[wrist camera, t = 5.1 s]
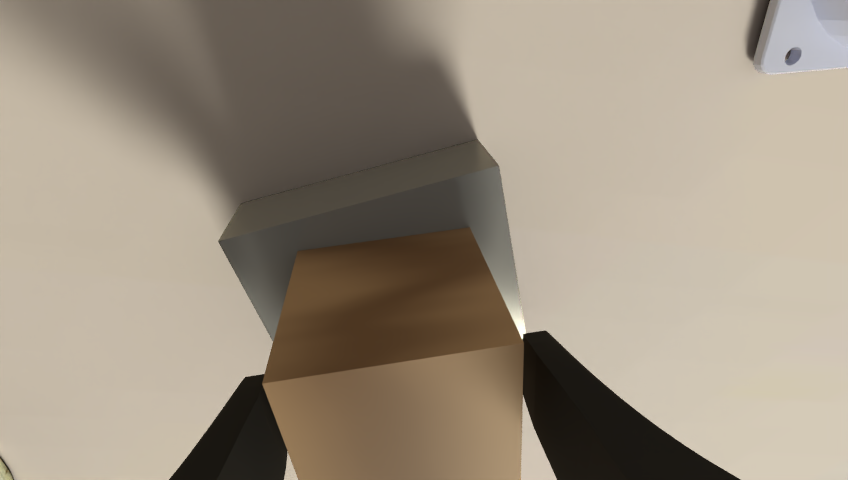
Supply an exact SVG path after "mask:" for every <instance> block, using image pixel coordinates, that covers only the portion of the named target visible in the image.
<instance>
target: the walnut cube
mask: <svg viewBox="0 0 848 480" xmlns="http://www.w3.org/2000/svg"><path fill="white" fill-rule="evenodd" d="M523 361H524V342H523V340H522V338H521V336H520V334H519V331H518V329H517V327H516V325H515V323H514V321H513V319H512V316H511V314H510V312H509V310H508V308H507V306H506V304H505V301H504V299H503V297H502V295H501V293H500V291H499V289H498V287H497V284H496V282H495V280H494V278H493V276H492V274H491V272H490V269H489V267H488V265H487V263H486V261H485V259H484V257H483V254H482V252H481V250H480V248H479V246H478V244H477V242H476V239H475V237H474V235H473V233H472V231H471V229H470V227H468V228H461V229H454V230H446V231H439V232H432V233H425V234H417V235H410V236H403V237H396V238H388V239H381V240H374V241H367V242H359V243H352V244H345V245H338V246H330V247H323V248H316V249H309V250H301V251H298V252H297V255H296V259H295V263H294V267H293V270H292V274H291V278H290V281H289V285H288V289H287V293H286V296H285V300H284V304H283V308H282V311H281V315H280V319H279V323H278V326H277V330H276V334H275V337H274V341H273V345H272V349H271V352H270V356H269V360H268V364H267V367H266V371H265V375H264V379H263V382H262V385H263V387H264V390H265V393H266V395H267V398H268V400H269V403H270V406H271V408H272V411H273V414H274V416H275V419H276V422H277V424H278V427H279V429H280V432H281V435H282V437H283V440H284V443H285V445H286V448H287V451H288V453H289V456H290V458H291V461H292V464H293V466H294V469H295V472H296V474H297V477H298V480H521V445H522V403H523Z"/></svg>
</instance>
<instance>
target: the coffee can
mask: <svg viewBox="0 0 848 480" xmlns="http://www.w3.org/2000/svg"><path fill="white" fill-rule="evenodd" d="M0 480H14V479H13V477H12V475H11V473H10V471H9V470H8V468H7V467H6V465H5V464H4V463H3V461H2V460H1V459H0Z"/></svg>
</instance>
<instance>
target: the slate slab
mask: <svg viewBox="0 0 848 480" xmlns="http://www.w3.org/2000/svg"><path fill="white" fill-rule="evenodd" d="M468 227H470V229H471V231H472V233H473V235H474V237H475V239H476V242H477V244H478V246H479V248H480V250H481V252H482V254H483V257H484V259H485V261H486V263H487V265H488V267H489V269H490V272H491V274H492V276H493V278H494V280H495V282H496V284H497V287H498V289H499V291H500V293H501V295H502V297H503V299H504V301H505V304H506V306H507V308H508V310H509V312H510V314H511V316H512V319H513V321H514V323H515V325H516V327H517V329H518V331H519V334H520V336H521V338H522V340H523V334H526V332H525V325H524V319H523V313H522V307H521V300H520V294H519V288H518V282H517V275H516V269H515V263H514V257H513V250H512V244H511V238H510V232H509V225H508V219H507V213H506V207H505V200H504V194H503V188H502V182H501V175H500V169H499V165H498V164H497V163H496V161H495V160H494V159H493V158H492V156H491V155H490V154H489V153H488V152H487V150H486V149H485V148H484V147H483V145H482V144H481V143H480V142H479V141H478V140H474V141H470V142H467V143H463V144H459V145H456V146H452V147H448V148H444V149H441V150H437V151H433V152H430V153H426V154H422V155H419V156H415V157H411V158H408V159H404V160H400V161H396V162H393V163H389V164H385V165H382V166H378V167H374V168H371V169H367V170H363V171H359V172H356V173H352V174H348V175H345V176H341V177H337V178H334V179H330V180H326V181H323V182H319V183H315V184H311V185H308V186H304V187H300V188H297V189H293V190H289V191H286V192H282V193H278V194H275V195H271V196H267V197H263V198H260V199H256V200H252V201H249V202H245V203H241V205H240V206H239V208H238V210H237V211H236V213H235V214H234V216H233V218H232V219H231V221H230V223H229V224H228V226H227V228H226V229H225V231H224V233H223V234H222V236H221V237H220V239H219V241H218V242H219V244H220V246H221V247H222V249H223V251H224V253H225V255H226V257H227V258H228V260H229V262H230V264H231V266H232V268H233V269H234V271H235V273H236V275H237V277H238V278H239V280H240V282H241V284H242V286H243V288H244V289H245V291H246V293H247V295H248V297H249V299H250V300H251V302H252V304H253V306H254V308H255V310H256V311H257V313H258V315H259V317H260V319H261V320H262V322H263V324H264V326H265V328H266V330H267V331H268V333H269V335H270V337H271V339H272V341H274V337H275V334H276V330H277V326H278V323H279V319H280V315H281V311H282V308H283V304H284V300H285V296H286V293H287V289H288V285H289V281H290V278H291V274H292V270H293V267H294V263H295V259H296V255H297V252H298V251H301V250H309V249H316V248H323V247H330V246H338V245H345V244H352V243H359V242H367V241H374V240H381V239H388V238H396V237H403V236H410V235H417V234H425V233H432V232H439V231H446V230H454V229H461V228H468Z"/></svg>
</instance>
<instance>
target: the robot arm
mask: <svg viewBox="0 0 848 480" xmlns="http://www.w3.org/2000/svg"><path fill="white" fill-rule="evenodd" d="M790 49H791V53H790V56H789V58H788V59H787V60H786V61H785V56H786V54H787V52H788V51H789V50H790ZM753 64H754V67H755V70H757V71H758V72H760V73H765V74H782V73H794V72H806V71H817V70H829V69H840V68H848V0H770V2H769V6H768V10H767V13H766V17H765V20H764V24H763V27H762V31H761V35H760V38H759V42H758V45H757V49H756V52H755V56H754V63H753ZM523 342H524V361H523V395H524V399H525V402H526V405H527V408H528V411H529V414H530V417H531V420H532V423H533V426H534V429H535V431H536V433H537V436H538V438H539V440H540V442H541V445H542V447H543V449H544V451H545V454H546V456H547V458H548V460H549V462H550V465H551V467H552V469H553V471H554V473H555V476H556V478H557V480H740V479H739V478H737V477H735V476H733V475H732V474H730V473H728V472H727V471H725V470H723V469H722V468H720V467H718V466H717V465H715V464H713V463H712V462H710V461H708V460H706V459H705V458H703V457H702V456H700V455H699V454H697V453H695V452H694V451H692V450H691V449H689V448H688V447H686V446H685V445H683V444H682V443H680V442H679V441H677V440H676V439H674V438H673V437H672V436H670V435H669V434H667V433H666V432H664V431H663V430H662V429H660V428H659V427H657V426H656V425H655V424H653V423H652V422H651V421H649V420H648V419H647V418H645V417H644V416H643V415H641V414H640V413H639V412H638V411H636V410H635V409H634V408H632V407H631V406H630V405H629V404H627V403H626V402H625V401H624V400H622V399H621V398H620V397H619V396H618V395H616V394H615V393H614V392H613V391H612V390H610V389H609V388H608V387H607V386H606V385H605V384H603V383H602V382H601V381H600V380H599V379H598V378H596V377H595V376H594V375H593V374H592V373H591V372H590V371H588V370H587V369H586V368H585V367H584V366H583V365H582V364H581V363H580V362H579V361H578V360H576V359H575V358H574V357H573V356H572V355H571V354H570V353H569V352H568V351H567V350H566V349H565V348H564V347H563V346H562V345H561V344H560V343H559V342H558V341H556V340H555V339H554V338H553V337H552V336H551V335H550V334H549V333H548V332H547V331H539V332H533V333H526V334H523ZM264 375H265V374H262V375H256V376H250V377H245V378H244V379H243V381H242V382H241V383H240V385H239V386H238V388H237V389H236V390H235V392H234V393H233V395H232V396H231V397H230V399H229V400H228V402H227V403H226V405H225V406H224V407H223V409H222V410H221V412H220V413H219V414H218V416H217V417H216V419H215V420H214V421H213V423H212V424H211V426H210V427H209V428H208V430H207V431H206V432H205V434H204V435H203V436H202V438H201V439H200V441H199V442H198V443H197V445H196V446H195V447H194V449H193V450H192V451H191V453H190V454H189V455H188V457H187V458H186V459H185V461H184V462H183V463H182V464H181V466H180V467H179V468H178V469H177V471H176V472H175V473H174V474H173V476H172V477H171V478H170V479H169V480H284V475H285V470H286V461H287V448H286V445H285V443H284V440H283V437H282V435H281V432H280V429H279V427H278V424H277V422H276V419H275V416H274V414H273V411H272V408H271V406H270V403H269V400H268V398H267V395H266V393H265V390H264V387H263V385H262V382H263V379H264Z"/></svg>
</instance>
